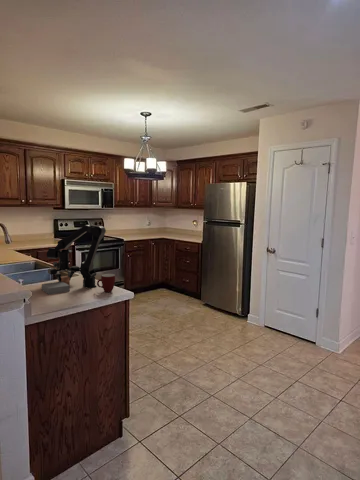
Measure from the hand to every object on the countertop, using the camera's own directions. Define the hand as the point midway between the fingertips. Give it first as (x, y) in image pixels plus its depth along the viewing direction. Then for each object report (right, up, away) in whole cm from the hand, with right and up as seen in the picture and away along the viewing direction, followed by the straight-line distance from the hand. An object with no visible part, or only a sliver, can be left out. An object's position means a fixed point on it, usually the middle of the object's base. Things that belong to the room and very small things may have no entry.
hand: (64, 283), depth 200 cm
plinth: (0, -3, -13) cm, 13 cm away
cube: (0, -1, 0) cm, 1 cm away
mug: (+30, -4, -12) cm, 32 cm away
